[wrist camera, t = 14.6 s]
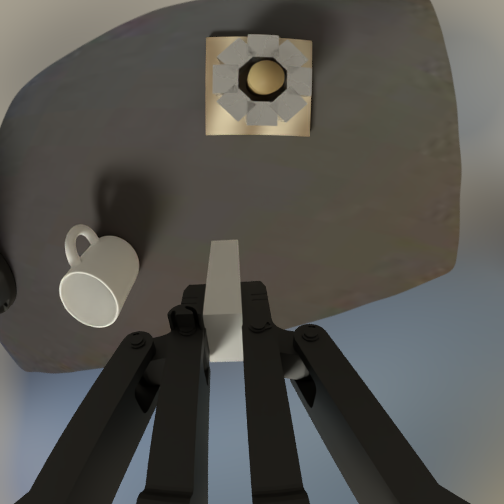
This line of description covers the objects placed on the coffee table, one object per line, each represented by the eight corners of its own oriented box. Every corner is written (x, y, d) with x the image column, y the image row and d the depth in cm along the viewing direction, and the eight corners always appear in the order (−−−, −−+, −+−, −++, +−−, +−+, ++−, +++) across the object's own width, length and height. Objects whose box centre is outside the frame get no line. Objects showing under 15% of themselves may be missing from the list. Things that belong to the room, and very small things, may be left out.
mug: (69, 222, 37) (32, 256, 28) (112, 201, 37) (78, 232, 27) (107, 289, 43) (83, 332, 34) (150, 274, 42) (131, 320, 33)
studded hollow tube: (217, 122, 32) (212, 125, 26) (218, 48, 28) (213, 34, 21) (296, 123, 32) (310, 127, 26) (297, 50, 28) (312, 38, 22)
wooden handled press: (206, 134, 33) (195, 144, 24) (207, 39, 28) (196, 15, 19) (307, 135, 34) (332, 146, 25) (309, 42, 28) (335, 22, 19)
